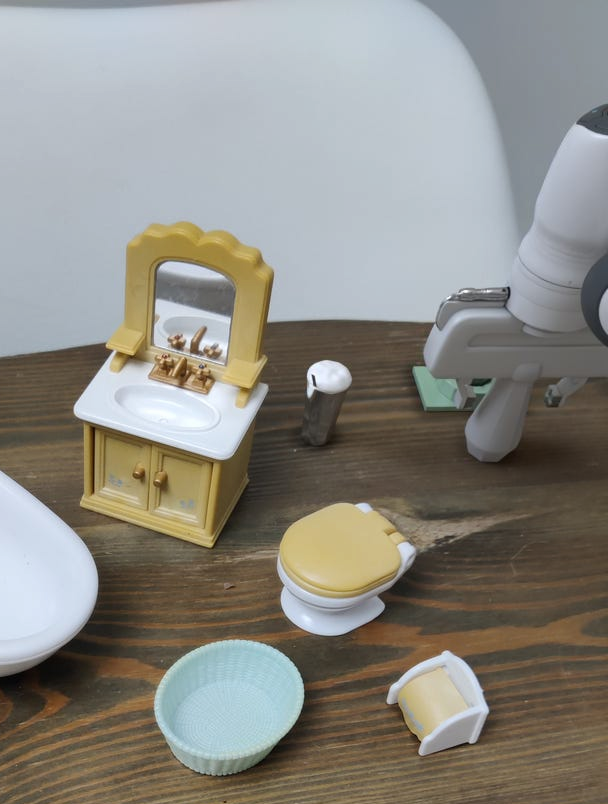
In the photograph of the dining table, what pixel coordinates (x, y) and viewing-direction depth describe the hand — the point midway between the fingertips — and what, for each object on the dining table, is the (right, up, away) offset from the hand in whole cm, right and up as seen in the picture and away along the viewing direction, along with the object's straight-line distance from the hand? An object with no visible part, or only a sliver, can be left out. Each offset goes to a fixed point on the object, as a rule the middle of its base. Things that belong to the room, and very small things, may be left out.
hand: (507, 404), depth 102 cm
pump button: (-1, +5, +9) cm, 10 cm away
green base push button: (-1, +4, +10) cm, 11 cm away
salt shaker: (0, -4, +5) cm, 6 cm away
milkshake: (-19, -2, +5) cm, 20 cm away
